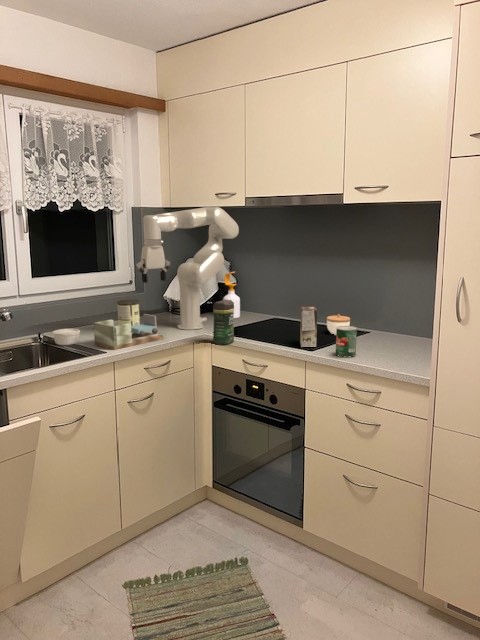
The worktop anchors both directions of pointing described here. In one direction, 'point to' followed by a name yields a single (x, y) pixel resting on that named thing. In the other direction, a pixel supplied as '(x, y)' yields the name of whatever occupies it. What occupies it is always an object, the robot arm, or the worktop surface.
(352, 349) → the canned tomato
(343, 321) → the lidded jar
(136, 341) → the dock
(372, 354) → the worktop surface
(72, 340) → the ramekin
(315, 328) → the coffee box
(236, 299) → the soap bottle
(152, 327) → the trolley
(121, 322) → the coffee can
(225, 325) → the coffee jar
